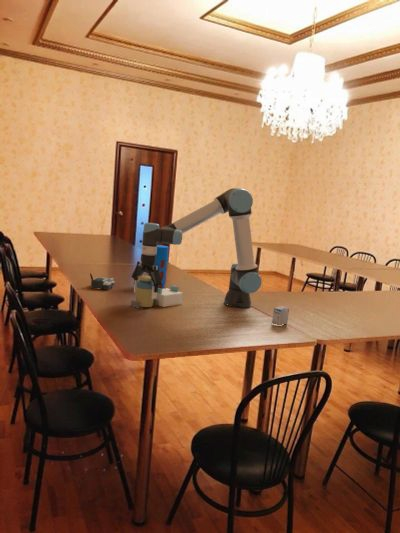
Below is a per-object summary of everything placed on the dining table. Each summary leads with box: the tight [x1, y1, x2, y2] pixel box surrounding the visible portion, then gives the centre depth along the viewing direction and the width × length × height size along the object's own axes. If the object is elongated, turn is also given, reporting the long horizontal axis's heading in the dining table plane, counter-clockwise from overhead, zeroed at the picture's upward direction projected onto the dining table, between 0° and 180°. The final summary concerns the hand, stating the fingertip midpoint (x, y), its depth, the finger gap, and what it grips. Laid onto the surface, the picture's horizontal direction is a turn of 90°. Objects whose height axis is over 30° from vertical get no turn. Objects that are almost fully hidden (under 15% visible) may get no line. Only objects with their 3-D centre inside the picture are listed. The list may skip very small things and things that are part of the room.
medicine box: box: [271, 305, 290, 325], centre depth 223 cm, size 8×4×9 cm, turn 141°
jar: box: [135, 274, 154, 308], centre depth 232 cm, size 9×9×15 cm
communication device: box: [89, 273, 115, 291], centre depth 269 cm, size 12×24×9 cm, turn 175°
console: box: [130, 284, 184, 309], centre depth 238 cm, size 12×28×8 cm, turn 138°
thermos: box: [148, 244, 169, 289], centre depth 280 cm, size 11×11×25 cm
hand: (144, 295), depth 232 cm, fingers open, 13 cm apart
